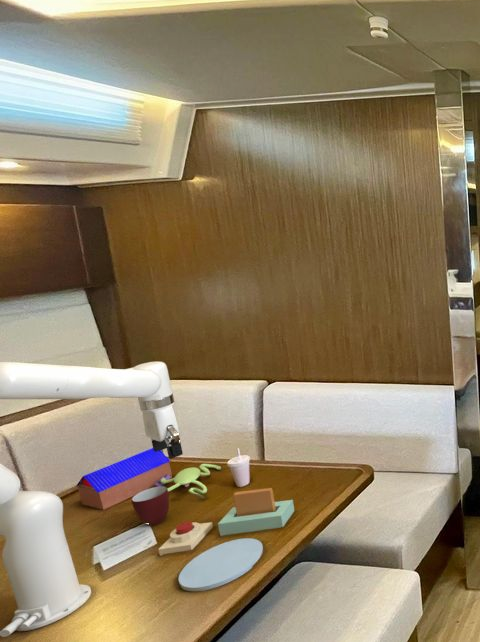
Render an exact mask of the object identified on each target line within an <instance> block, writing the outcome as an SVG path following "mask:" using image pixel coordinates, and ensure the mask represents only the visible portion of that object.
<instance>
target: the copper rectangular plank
mask: <svg viewBox="0 0 480 642" xmlns="http://www.w3.org/2000/svg"><path fill="white" fill-rule="evenodd" d="M232 496H233V501H234V507H236V512H237V517H239V516H247V515H254V514H262V513H269V512H276V507H275V502H276V501H275V495H274V490H273V488H272V487H266V488H259V489H251V490H242V491H235V492H234V494H233V495H232Z"/></svg>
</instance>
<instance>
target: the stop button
mask: <svg viewBox="0 0 480 642" xmlns="http://www.w3.org/2000/svg"><path fill="white" fill-rule="evenodd" d="M192 523H193V522H192V521H185V522H183V523H180V524H179V525H177V526H176V527H175V529H176V532H177V534H178V535H181V534H185V533H188V532H189V531H191V530H192V529H193V524H192Z"/></svg>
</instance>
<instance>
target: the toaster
mask: <svg viewBox="0 0 480 642" xmlns="http://www.w3.org/2000/svg"><path fill="white" fill-rule="evenodd" d="M275 507H276V512H269V513H262V514H254V515H247V516H239V517H237V512H236V507H235V506H233V507H231V508H230V510H229V511H228V512H227V513H226V514H225V515H224V516H223V517H222V519H220V521H219V522H218V523H217V528H218V533H219V536H220V537H221V536H229V535H235V534H242V533H250V532H251V533H252V532H256V531H265V530H271V529H279V528H284V527H285V525H286V524H287V522H288V521H289V519H290V518H291V516H292V515H293V514H294V512H295V506H294V500H293V499H288V500H287V499H286V500H280V501H275Z"/></svg>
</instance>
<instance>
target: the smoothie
mask: <svg viewBox="0 0 480 642" xmlns="http://www.w3.org/2000/svg"><path fill="white" fill-rule="evenodd" d="M236 451H237V456H234V457H233V458H231V459H229V460H228V461H227V467H229V469H230V472H231V475H232V477H233V480H234V482H235V485H236V487H237V488H242V487H245V486H247V485H248V484H250V479H251V478H250V460H251V457H250V455H248V454H242V455H241V451H240V448H239V447H238V448H237V447H236Z"/></svg>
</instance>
